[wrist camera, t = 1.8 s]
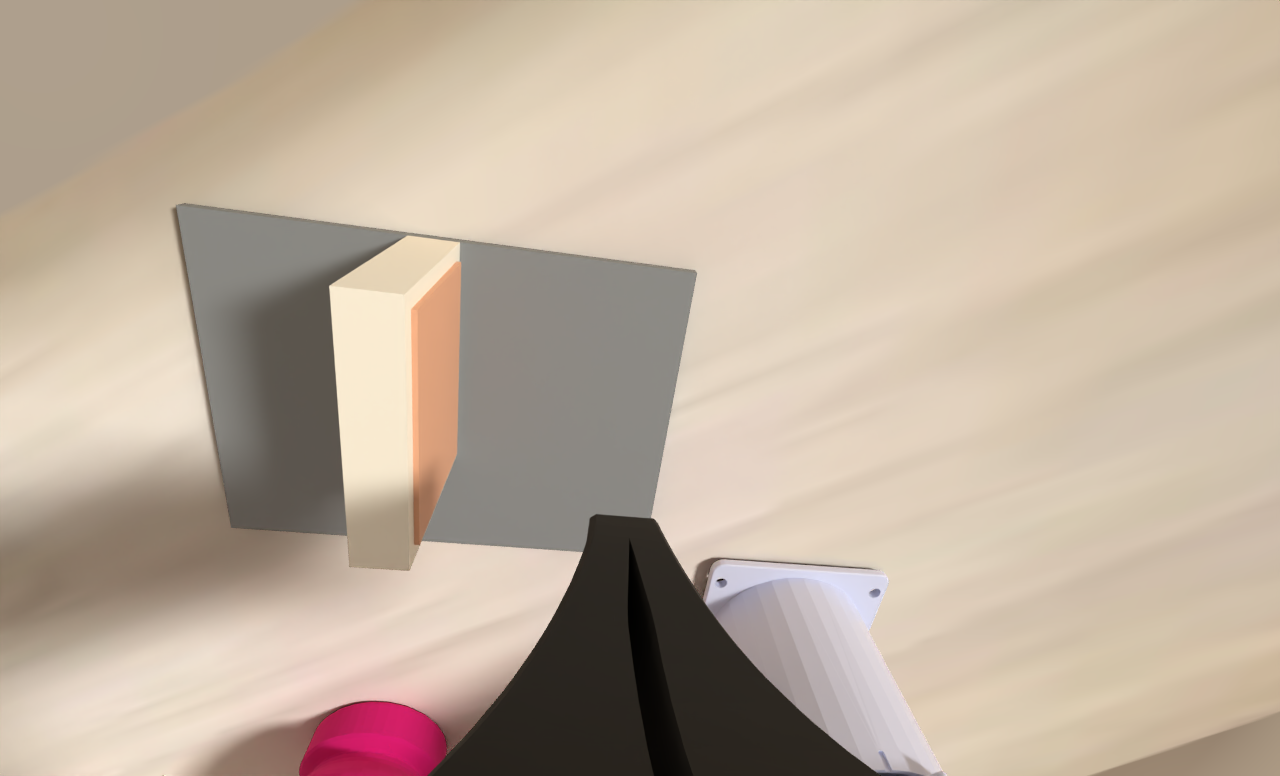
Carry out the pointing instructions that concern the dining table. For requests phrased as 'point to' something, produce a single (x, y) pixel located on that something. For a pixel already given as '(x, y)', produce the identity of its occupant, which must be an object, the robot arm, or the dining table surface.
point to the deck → (396, 394)
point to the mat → (488, 379)
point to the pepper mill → (374, 743)
